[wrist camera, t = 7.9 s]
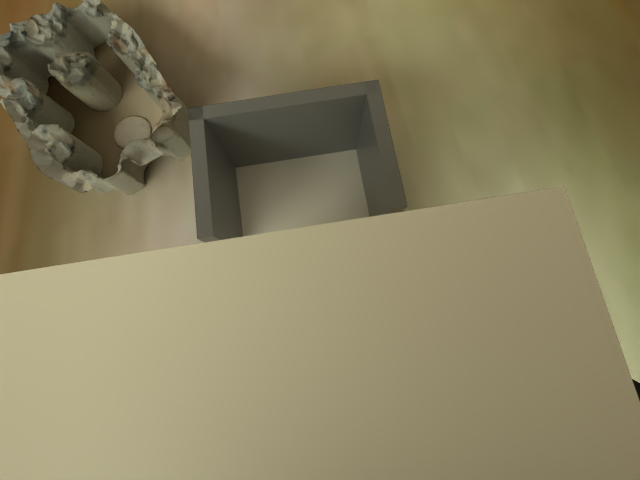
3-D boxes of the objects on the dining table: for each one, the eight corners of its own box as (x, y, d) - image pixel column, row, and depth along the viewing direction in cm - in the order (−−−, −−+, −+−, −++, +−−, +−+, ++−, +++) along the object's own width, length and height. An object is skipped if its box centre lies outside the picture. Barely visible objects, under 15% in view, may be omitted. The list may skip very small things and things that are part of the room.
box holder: (443, 472, 14) (506, 562, 9) (248, 505, 14) (206, 614, 9) (372, 140, 17) (390, 77, 12) (217, 164, 17) (175, 109, 12)
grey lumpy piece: (217, 148, 18) (186, 103, 14) (105, 219, 17) (36, 193, 13) (132, 28, 20) (83, -43, 16) (27, 87, 19) (-53, 28, 15)
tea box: (391, 356, 14) (724, 621, 2) (263, 377, 14) (-68, 763, 2) (376, 278, 15) (567, 181, 3) (254, 297, 15) (-24, 273, 3)
